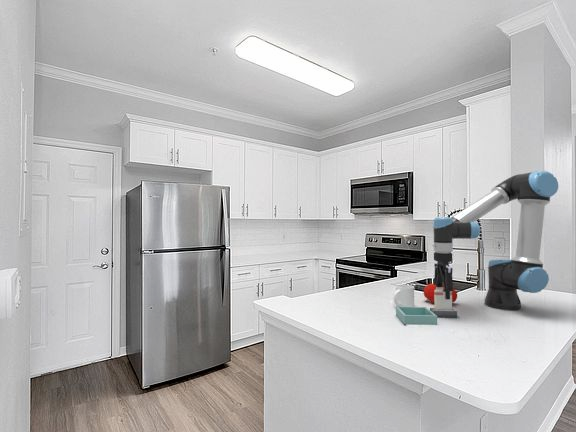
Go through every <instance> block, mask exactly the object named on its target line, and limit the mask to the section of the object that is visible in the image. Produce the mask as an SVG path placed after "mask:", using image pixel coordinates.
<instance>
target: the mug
mask: <svg viewBox="0 0 576 432" xmlns="http://www.w3.org/2000/svg"><path fill="white" fill-rule="evenodd" d="M393 303H394V305H396V306H395V307H415V287H414V285H411V284H404V283H402V284H396V286H395V292H394V294H393Z"/></svg>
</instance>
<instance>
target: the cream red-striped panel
mask: <svg viewBox="0 0 576 432" xmlns="http://www.w3.org/2000/svg"><path fill="white" fill-rule="evenodd" d="M433 304H434V305H433V306H434V307H433V308H434V309H435V310H452V309H453V303H452V291H451V292H450V307H444V306H443V291H442V290H434V303H433Z"/></svg>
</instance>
